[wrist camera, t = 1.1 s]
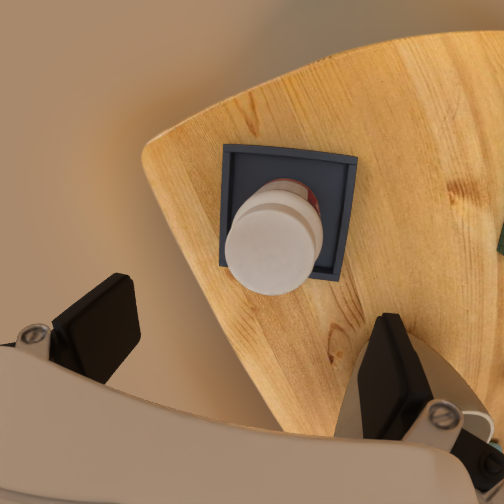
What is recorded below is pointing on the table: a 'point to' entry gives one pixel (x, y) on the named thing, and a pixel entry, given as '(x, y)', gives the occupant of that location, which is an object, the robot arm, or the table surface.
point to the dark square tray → (300, 169)
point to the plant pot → (442, 386)
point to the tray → (501, 242)
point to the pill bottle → (275, 238)
